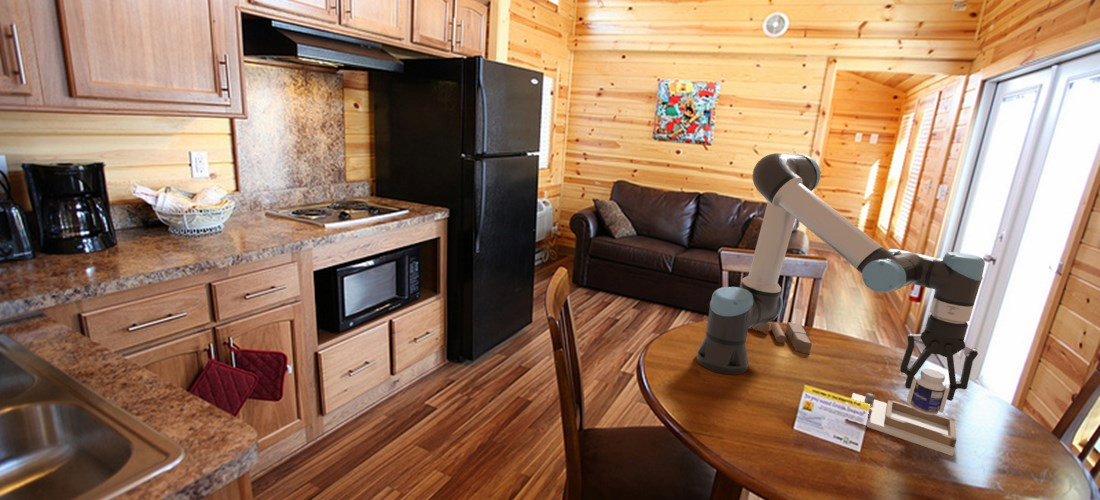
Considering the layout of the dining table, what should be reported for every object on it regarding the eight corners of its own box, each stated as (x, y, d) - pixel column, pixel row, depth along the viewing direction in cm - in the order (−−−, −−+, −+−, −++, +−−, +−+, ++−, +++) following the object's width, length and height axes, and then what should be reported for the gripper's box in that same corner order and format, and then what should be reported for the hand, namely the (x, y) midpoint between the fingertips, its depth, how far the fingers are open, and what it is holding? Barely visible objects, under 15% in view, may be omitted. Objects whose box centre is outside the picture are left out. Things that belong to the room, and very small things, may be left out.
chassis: (845, 419, 129) (848, 407, 128) (851, 397, 140) (854, 386, 139) (952, 456, 116) (956, 443, 116) (950, 429, 127) (954, 416, 127)
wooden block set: (801, 320, 181) (813, 340, 164) (797, 334, 183) (810, 356, 166) (751, 313, 185) (759, 332, 168) (749, 327, 186) (756, 347, 169)
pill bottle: (904, 403, 127) (913, 367, 124) (924, 403, 127) (934, 367, 125) (922, 415, 121) (932, 378, 119) (943, 415, 122) (954, 378, 119)
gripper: (900, 311, 120) (879, 397, 126) (1002, 334, 110) (974, 426, 116) (901, 303, 126) (881, 386, 132) (998, 324, 116) (971, 413, 122)
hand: (924, 405), depth 124 cm, fingers closed on pill bottle, 6 cm apart
